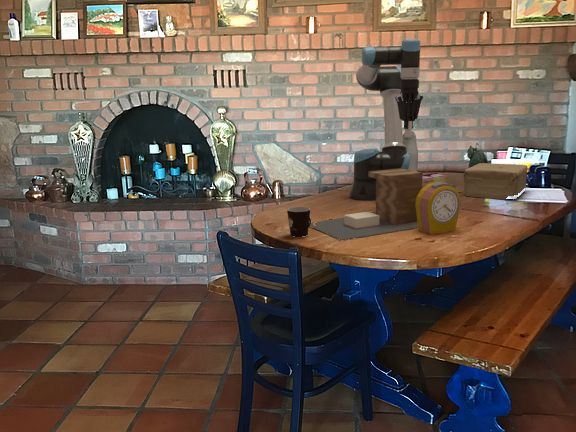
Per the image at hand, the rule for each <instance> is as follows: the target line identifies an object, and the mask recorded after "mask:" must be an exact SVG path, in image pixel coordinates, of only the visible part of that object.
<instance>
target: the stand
mask: <svg viewBox="0 0 576 432" xmlns="http://www.w3.org/2000/svg"><path fill="white" fill-rule="evenodd" d="M423 175H424V174H423V172H420V171H418V170H417V171H412V170H407V169H401V168H398V169H389V170H379V171H369V172H368V177H372V178H376V199H375V213H376V215H379V219H381V220H384V221H386V222H389V223H392V224H395V225H400V224H406V223H412V222H417V214H416V206H415V203H416V198H417V195H418V194H419V192H420V190H421V189H422V178H423Z"/></svg>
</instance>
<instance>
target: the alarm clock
mask: <svg viewBox="0 0 576 432" xmlns="http://www.w3.org/2000/svg"><path fill="white" fill-rule="evenodd" d="M461 201H462V200H461V196H460V194H459V193H458V190H457V189H455V188H454V187H453V186H451V183H448V182H447V183H443V182H437V183H431V184H428V185H426V186H424V187H423V188H422V189H421V190H420V192H419V194H418V195H417V198H416V203H415V206H416V214H417V223H418V228H417V229H418V231H421V232H423V233H427V234H428V235H429V234H430V235H432V234H433V235H434V234H441V233H448V232H454V231H456V229H457V225H458V219H459V213H460V208H461Z"/></svg>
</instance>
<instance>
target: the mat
mask: <svg viewBox="0 0 576 432" xmlns="http://www.w3.org/2000/svg"><path fill="white" fill-rule="evenodd" d="M373 214H376V212H375V213H373ZM311 222H312V223H311V224H310V226H311V227H313V228H315V229H318V230H320V231H322V232H324V233H327V234H329V235H331V236H333V237H332V238H334V237H336V238H338V239H340V240H339V241H341V240H344V241H346V240H345V239H350V240H354V239H353V238H356V239H361V237H362V238H367V237H373V236H374V237H375V236H379V235H384V234H390V233H397V232H402V231H403V232H404V231H410V230H415V229H418V223H417V222H412V223H406V224H400V225H395V224H392V223H389V222H386V221H384V220H381V219H379V226H373V227H367V228H360V229H354V228H351V227H349V226H346V225H344V217H340V218H333V219H327V220H320V221H316V222H317V223H315V225H316V226H314V225H313V223H314V222H315V221H311ZM311 227H310V228H311ZM313 228H312V229H313ZM315 229H314V230H315ZM318 230H317V231H318ZM320 231H319V232H320ZM322 232H321V233H322ZM324 233H323V234H324ZM327 234H326V235H327ZM329 235H328V236H329ZM331 236H330V237H331ZM336 238H335V239H336ZM338 239H337V240H338Z"/></svg>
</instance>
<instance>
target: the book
mask: <svg viewBox="0 0 576 432" xmlns="http://www.w3.org/2000/svg"><path fill="white" fill-rule="evenodd" d="M343 218H344V225H346V226H349V227H351V228H354V229H360V228H367V227H373V226H379V215H376V214H373V213H372V212H371V211H363V212H362V211H361V212H355V213H350V214H344V217H343Z"/></svg>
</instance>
